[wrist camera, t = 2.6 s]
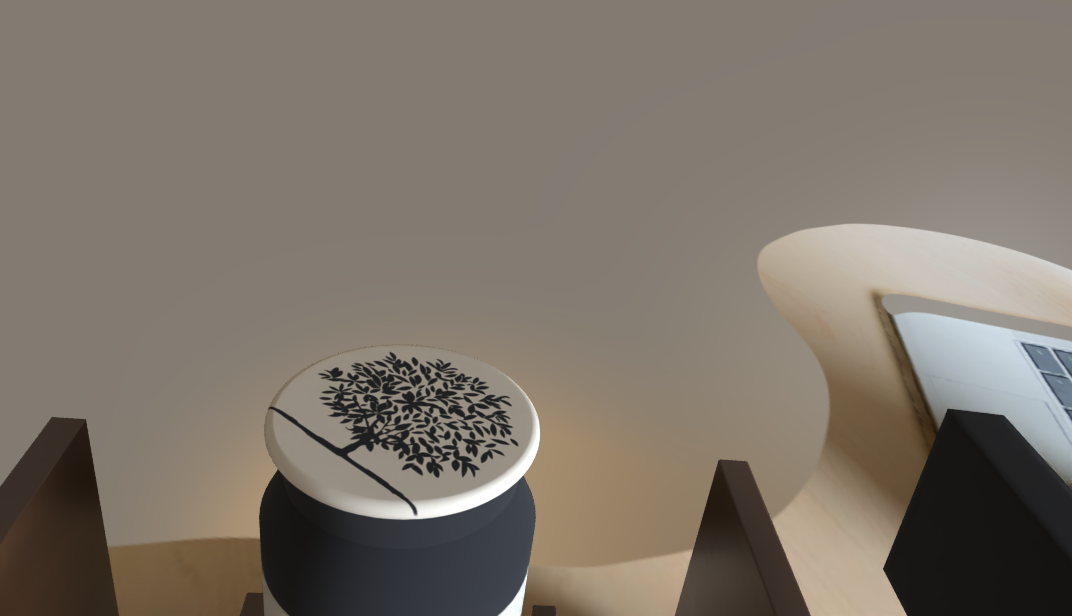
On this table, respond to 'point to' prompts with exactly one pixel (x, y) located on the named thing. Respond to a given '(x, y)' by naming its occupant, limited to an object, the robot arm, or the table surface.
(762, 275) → the table surface
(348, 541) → the travel mug
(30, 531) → the rack
